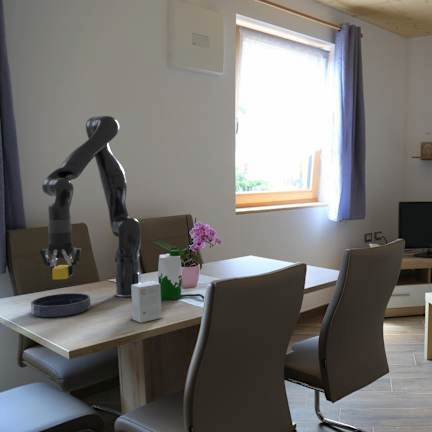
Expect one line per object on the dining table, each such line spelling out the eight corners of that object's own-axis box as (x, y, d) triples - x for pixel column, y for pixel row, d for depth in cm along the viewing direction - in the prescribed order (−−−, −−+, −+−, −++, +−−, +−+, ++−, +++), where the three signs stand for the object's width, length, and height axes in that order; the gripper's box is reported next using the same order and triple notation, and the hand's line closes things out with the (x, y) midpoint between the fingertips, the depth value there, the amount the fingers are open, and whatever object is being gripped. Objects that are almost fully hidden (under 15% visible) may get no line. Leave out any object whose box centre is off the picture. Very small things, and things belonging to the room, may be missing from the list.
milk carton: (182, 299, 228) (181, 251, 226) (159, 301, 224) (157, 252, 222) (181, 294, 236) (180, 248, 234) (158, 296, 232) (157, 249, 230)
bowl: (96, 303, 219) (95, 292, 219) (81, 317, 201) (81, 305, 200) (42, 305, 215) (42, 294, 214) (22, 319, 196) (22, 307, 196)
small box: (153, 314, 205) (152, 280, 204) (162, 318, 201) (161, 283, 200) (131, 319, 199) (130, 284, 198) (140, 323, 195) (139, 287, 194)
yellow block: (59, 275, 209) (58, 265, 208) (72, 274, 210) (72, 264, 209) (52, 279, 202) (52, 268, 202) (66, 279, 203) (65, 268, 203)
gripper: (84, 229, 209) (86, 273, 211) (42, 229, 206) (45, 274, 208) (78, 232, 202) (80, 277, 204) (34, 232, 199) (37, 278, 201)
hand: (62, 275), depth 206 cm, fingers closed on yellow block, 4 cm apart
